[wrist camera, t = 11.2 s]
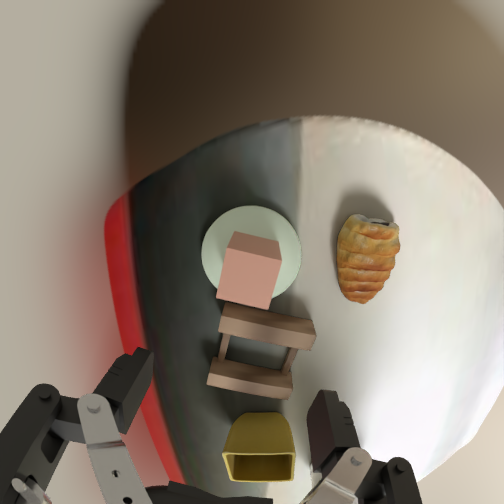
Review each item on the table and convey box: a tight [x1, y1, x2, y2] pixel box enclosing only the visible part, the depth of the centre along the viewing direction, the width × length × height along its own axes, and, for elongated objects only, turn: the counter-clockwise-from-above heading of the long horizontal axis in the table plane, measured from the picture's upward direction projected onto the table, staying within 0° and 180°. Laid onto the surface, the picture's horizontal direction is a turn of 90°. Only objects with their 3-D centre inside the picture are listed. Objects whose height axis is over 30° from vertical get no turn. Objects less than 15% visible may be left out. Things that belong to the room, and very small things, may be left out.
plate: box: [202, 205, 302, 298], centre depth 29 cm, size 10×10×1 cm
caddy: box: [207, 302, 316, 400], centre depth 31 cm, size 10×10×3 cm
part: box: [216, 231, 282, 310], centre depth 25 cm, size 4×4×6 cm
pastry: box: [337, 214, 400, 304], centre depth 27 cm, size 9×7×4 cm
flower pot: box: [222, 412, 296, 482], centre depth 32 cm, size 9×9×9 cm
